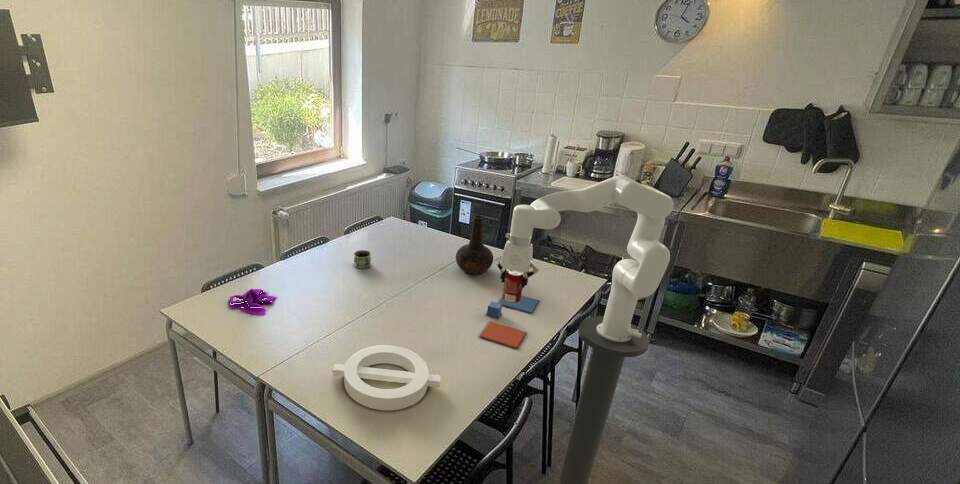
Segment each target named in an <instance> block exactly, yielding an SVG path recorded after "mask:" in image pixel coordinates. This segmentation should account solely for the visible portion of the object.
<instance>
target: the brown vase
mask: <svg viewBox="0 0 960 484" xmlns="http://www.w3.org/2000/svg"><path fill="white" fill-rule="evenodd" d="M483 222H484V216H482V215H479V214H476V215H475V214H474V215H473V218H471V223H472V227H471V234H470V239H469V241H468V244H464V245H462V246H461V247H459V248H458V249H457V251H456V253H455V262H456V264H457V266H458V267H459V269H460V270H461V271H463V272H465V273H467V274H471V275H472V274H473V275H479V274H482V273H485V272H487V271H488V270H490V268H491V267H492V265H493V262H494V254H493V252H492V251H491V249H490V248H488V247H487V246H485V245H484V240H483V239H484V238H483Z"/></svg>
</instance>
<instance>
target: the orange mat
mask: <svg viewBox="0 0 960 484" xmlns="http://www.w3.org/2000/svg"><path fill="white" fill-rule="evenodd" d="M525 335H526V331H524V330H520V329H517V328H513V327H511V326H508V325H507V326H506V325H503V324H501V323H497V322H493V321H490V322H489V323H488V325H487V326H486V328H485V329H484V330H483V332H482V333H481V334H480V336H479V338H482V339H485V340H488V341H492V342H495V343H497V344H500V345H504V346H507V347H511V348H514V349H518V346H519V345H520V344H521V342H522V340H523V338H525V337H524V336H525Z"/></svg>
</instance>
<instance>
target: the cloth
mask: <svg viewBox="0 0 960 484" xmlns="http://www.w3.org/2000/svg"><path fill="white" fill-rule="evenodd" d="M263 291H264V290H263V289H261V288H250V289H249V290H248V291H247V292H244V293H243V294H236V295H230V296H229V297H228V302H229V301H230V303H231V304H233V303H241V302H244V303H241V304H234V305H230V304H229V303H228V305H229V308H230V309H231V310H241V311H242V312H243V313H245V314H248V315H256V316H265V314H266V312H267V309H266V308H264V307H263V306H272V304H273V303H274V301H275V300H276V296H274V295H268V294H267V292H266V291H264V292H263ZM261 292H262V293H261ZM260 293H261V294H260ZM234 297H236V298H239V299H243V300H241V301H239V300H236V301H233V298H234ZM274 297H275V298H274ZM229 298H230V300H229ZM264 298H267V299H265V300H262V299H264ZM273 299H274V300H273ZM245 301H247V302H245ZM270 301H272V302H270ZM262 302H263V303H262ZM247 303H248V304H247ZM248 305H249V306H248ZM241 307H244V308H241ZM250 307H262V308H250Z"/></svg>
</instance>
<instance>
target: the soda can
mask: <svg viewBox="0 0 960 484" xmlns="http://www.w3.org/2000/svg"><path fill="white" fill-rule="evenodd" d="M523 278H524V274H523V272H518V271H514V270H510V269H507V273H506V274H505V279H504V283H503V286H502V287H503V288H502V293H501V294H502V295H501V299H503V300H504V301H506V302H508V303H518V302H520V300H521V296H522V293H523V288H522V281H523Z"/></svg>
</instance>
